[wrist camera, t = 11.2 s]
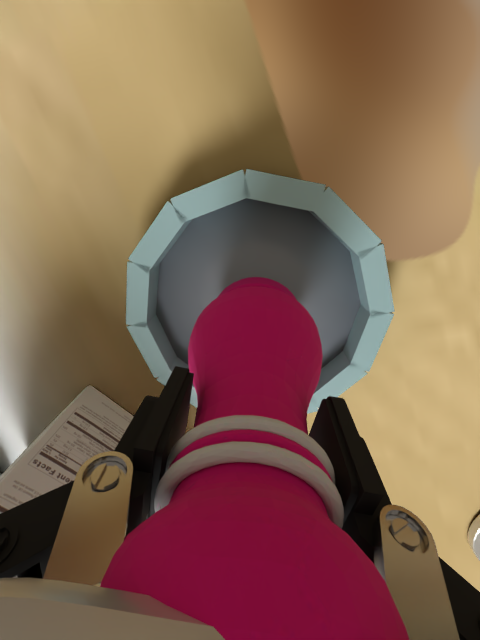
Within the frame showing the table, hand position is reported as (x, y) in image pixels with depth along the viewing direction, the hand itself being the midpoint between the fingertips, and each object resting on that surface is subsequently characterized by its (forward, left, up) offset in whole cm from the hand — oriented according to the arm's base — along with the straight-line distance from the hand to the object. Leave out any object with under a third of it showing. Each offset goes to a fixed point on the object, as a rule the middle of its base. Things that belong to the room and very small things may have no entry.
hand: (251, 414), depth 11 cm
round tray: (0, 0, -13) cm, 13 cm away
